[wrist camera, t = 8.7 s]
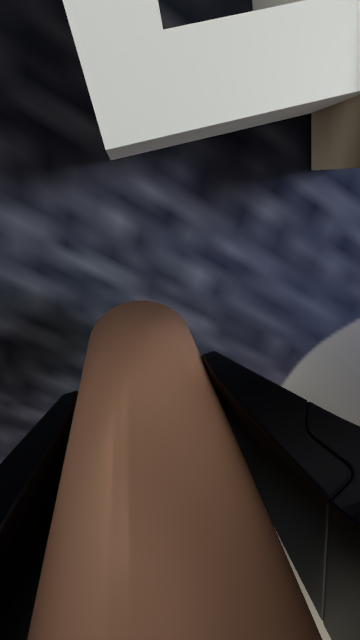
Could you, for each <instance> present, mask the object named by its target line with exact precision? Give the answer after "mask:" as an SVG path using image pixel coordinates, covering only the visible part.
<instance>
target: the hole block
mask: <svg viewBox="0 0 360 640" xmlns="http://www.w3.org/2000/svg"><path fill="white" fill-rule="evenodd" d="M62 1H63V4H64V7H65V11H66V14H67V18H68V21H69V25H70V28H71V32H72V35H73V39H74V42H75V46H76V49H77V53H78V56H79V59H80V63H81V66H82V70H83V73H84V77H85V80H86V84H87V87H88V91H89V94H90V98H91V101H92V104H93V108H94V111H95V115H96V118H97V122H98V125H99V129H100V132H101V136H102V139H103V143H104V146H105V150H106V152H107V154H108V156H109V158H110V160H115V159H120V158H124V157H128V156H132V155H136V154H141V153H145V152H149V151H153V150H158V149H162V148H166V147H170V146H175V145H179V144H183V143H187V142H192V141H196V140H200V139H204V138H208V137H213V136H217V135H221V134H225V133H230V132H234V131H238V130H242V129H247V128H251V127H255V126H259V125H264V124H268V123H272V122H276V121H280V120H285V119H289V118H293V117H297V116H302V115H306V114H309V113H312V112H315V111H318V110H320V109H323V108H326V107H329V106H331V105H334V104H337V103H340V102H342V101H345V100H348V99H351V98H353V97H356V96H359V95H360V0H252V7H253V11H251V12H246V13H241V14H236V15H232V16H227V17H222V18H217V19H212V20H207V21H203V22H198V23H193V24H188V25H183V26H178V27H174V28H169V29H164V30H163V26H162V21H161V15H160V9H159V4H158V0H62Z"/></svg>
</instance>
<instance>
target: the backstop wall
mask: <svg viewBox="0 0 360 640" xmlns="http://www.w3.org/2000/svg"><path fill="white" fill-rule="evenodd" d="M346 168H360V95H359V96H356V97H353V98H351V99H348V100H345V101H342V102H340V103H337V104H334V105H331V106H329V107H326V108H323V109H320V110H318V111H315V112H312V113H311V171H313V170H329V169H346Z"/></svg>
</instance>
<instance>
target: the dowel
mask: <svg viewBox="0 0 360 640" xmlns="http://www.w3.org/2000/svg"><path fill="white" fill-rule="evenodd" d="M27 640H322V638H321V636H320V633H319V631H318V629H317V626H316V624H315V622H314V619H313V617H312V615H311V612H310V610H309V608H308V605H307V603H306V601H305V598H304V596H303V594H302V592H301V589H300V587H299V584H298V582H297V580H296V577H295V575H294V573H293V570H292V568H291V566H290V563H289V561H288V559H287V556H286V554H285V552H284V550H283V547H282V545H281V542H280V540H279V538H278V535H277V533H276V531H275V529H274V526H273V524H272V522H271V519H270V517H269V515H268V512H267V510H266V508H265V505H264V503H263V501H262V498H261V496H260V494H259V491H258V489H257V487H256V484H255V482H254V480H253V477H252V475H251V473H250V470H249V468H248V466H247V463H246V461H245V459H244V456H243V454H242V452H241V449H240V447H239V445H238V442H237V440H236V438H235V435H234V433H233V431H232V428H231V426H230V424H229V421H228V419H227V417H226V415H225V412H224V410H223V408H222V405H221V403H220V401H219V398H218V396H217V394H216V391H215V389H214V387H213V384H212V382H211V380H210V377H209V375H208V373H207V370H206V368H205V366H204V364H203V361H202V359H201V356H200V354H199V352H198V349H197V347H196V345H195V342H194V340H193V338H192V335H191V333H190V331H189V328H188V326H187V324H186V323H185V321H184V320H183V318H182V317H181V316H180V315H179V314H178V313H177V312H175V311H174V310H173V309H171V308H169V307H167V306H165V305H163V304H160V303H156V302H152V301H132V302H128V303H124V304H121V305H119V306H117V307H115V308H113V309H111V310H110V311H108V312H107V313H105V314H104V315H103V316H102V317H101V318H100V319H99V320H98V322H97V323H96V324H95V326H94V328H93V330H92V332H91V334H90V338H89V343H88V347H87V352H86V357H85V362H84V367H83V372H82V377H81V381H80V386H79V391H78V396H77V401H76V406H75V410H74V415H73V420H72V425H71V430H70V435H69V440H68V444H67V449H66V454H65V459H64V464H63V469H62V474H61V478H60V483H59V488H58V493H57V498H56V503H55V507H54V512H53V517H52V522H51V527H50V532H49V537H48V541H47V546H46V551H45V556H44V561H43V566H42V570H41V575H40V580H39V585H38V590H37V595H36V600H35V604H34V609H33V614H32V619H31V624H30V629H29V633H28V638H27Z"/></svg>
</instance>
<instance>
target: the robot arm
mask: <svg viewBox="0 0 360 640" xmlns="http://www.w3.org/2000/svg"><path fill="white" fill-rule="evenodd" d="M202 361H203V364H204V366H205V368H206V370H207V373H208V375H209V377H210V380H211V382H212V384H213V387H214V389H215V391H216V394H217V396H218V398H219V401H220V403H221V405H222V408H223V410H224V412H225V415H226V417H227V419H228V421H229V424H230V426H231V428H232V431H233V433H234V435H235V438H236V440H237V442H238V445H239V447H240V449H241V452H242V454H243V456H244V459H245V461H246V463H247V466H248V468H249V470H250V473H251V475H252V477H253V480H254V482H255V484H256V487H257V489H258V491H259V494H260V496H261V498H262V501H263V503H264V505H265V508H266V510H267V512H268V515H269V517H270V519H271V522H272V524H273V526H274V528H275V530H276V532H277V533H278V535H279V537H280V539H281V541H282V543H283V545H284V547H285V549H286V551H287V553H288V555H289V557H290V559H291V561H292V563H293V565H294V567H295V569H296V571H297V572H298V575H299V577H300V579H301V581H302V583H303V584H304V586H305V588H306V590H307V592H308V594H309V596H310V598H311V600H312V602H313V604H314V606H315V608H316V610H317V612H318V614H319V616H320V617H321V619H322V620H323V623H324V626H325V628H326V630H327V632H328V634H329V635H330V637H331V640H360V426H357V425H355V424H353V423H351V422H349V421H346V420H344V419H342V418H340V417H338V416H336V415H334V414H332V413H330V412H328V411H326V410H324V409H322V408H321V407H319V406H317V405H315V404H313V403H311V402H308V403H307V400H305V399H303V398H302V397H300V396H298V395H296V394H294V393H292V392H290V391H289V390H287V389H285V388H283V387H281V386H279V385H277V384H276V383H274V382H272V381H270V380H268V379H266V378H264V377H262V376H261V375H259V374H257V373H255V372H253V371H251V370H249V369H247V368H246V367H244V366H242V365H240V364H238V363H236V362H234V361H232V360H231V359H229V358H227V357H225V356H223V355H221V354H219V353H218V352H215V351H212V352H209V353H206V354H203V355H202ZM77 396H78V391H74V392H70V393H67V394H64V395H62V396H61V398H60V399H59V400H58V401H57V402H56V403H55V404H54V405H53V406H52V408H51V409H50V410H49V411H48V412H47V413H46V414H45V415H44V416H43V417H42V419H41V420H40V421H39V422H38V423H37V424H36V425H35V426H34V427H33V428H32V430H31V431H30V432H29V433H28V434H27V435H26V436H25V437H24V438H23V440H22V441H21V442H20V443H19V444H18V445H17V446H16V447H15V448H14V449H13V451H12V452H11V453H10V454H9V455H8V456H7V457H6V458H5V459H4V460H3V462H2V463H1V464H0V640H27V638H28V633H29V629H30V624H31V619H32V614H33V609H34V604H35V600H36V595H37V590H38V585H39V580H40V575H41V570H42V566H43V561H44V556H45V551H46V546H47V541H48V537H49V532H50V527H51V522H52V517H53V512H54V507H55V503H56V498H57V493H58V488H59V483H60V478H61V474H62V469H63V464H64V459H65V454H66V449H67V444H68V440H69V435H70V430H71V425H72V420H73V415H74V410H75V406H76V401H77Z"/></svg>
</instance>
